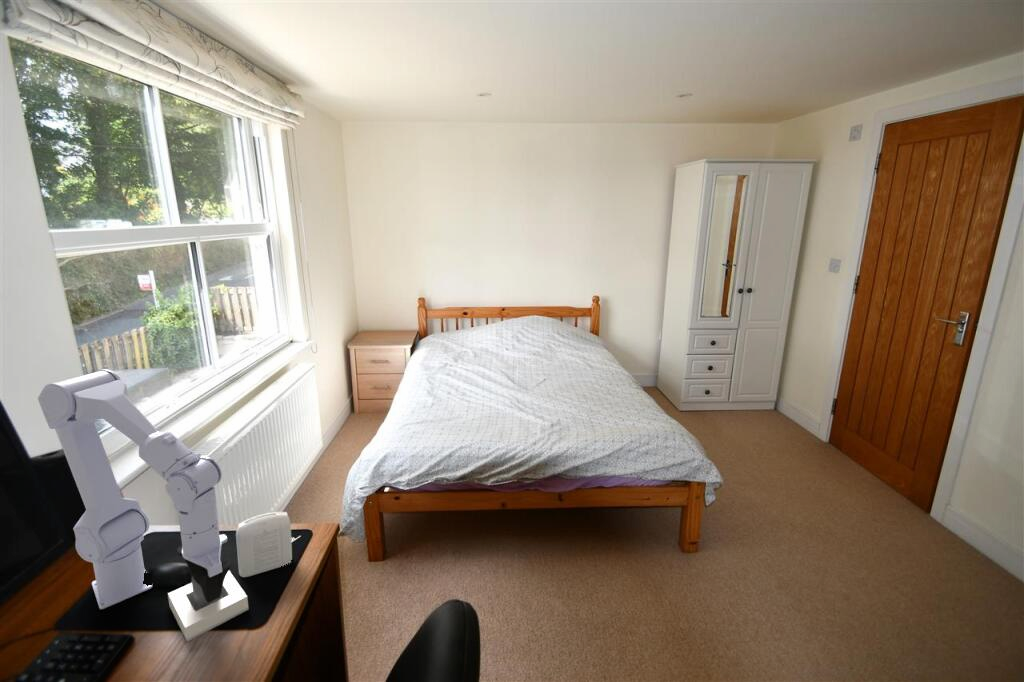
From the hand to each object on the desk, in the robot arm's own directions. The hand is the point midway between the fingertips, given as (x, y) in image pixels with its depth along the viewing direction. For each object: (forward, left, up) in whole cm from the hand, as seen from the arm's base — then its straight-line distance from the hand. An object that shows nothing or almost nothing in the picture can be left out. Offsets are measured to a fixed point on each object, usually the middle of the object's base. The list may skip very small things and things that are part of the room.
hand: (206, 587), depth 87 cm
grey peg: (0, 0, -4) cm, 4 cm away
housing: (0, 0, -5) cm, 5 cm away
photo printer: (-4, +12, -5) cm, 14 cm away
